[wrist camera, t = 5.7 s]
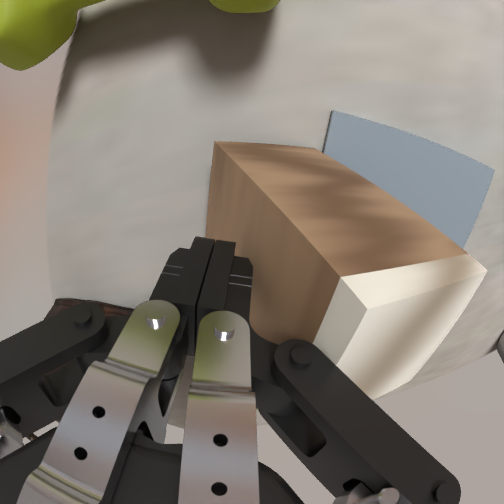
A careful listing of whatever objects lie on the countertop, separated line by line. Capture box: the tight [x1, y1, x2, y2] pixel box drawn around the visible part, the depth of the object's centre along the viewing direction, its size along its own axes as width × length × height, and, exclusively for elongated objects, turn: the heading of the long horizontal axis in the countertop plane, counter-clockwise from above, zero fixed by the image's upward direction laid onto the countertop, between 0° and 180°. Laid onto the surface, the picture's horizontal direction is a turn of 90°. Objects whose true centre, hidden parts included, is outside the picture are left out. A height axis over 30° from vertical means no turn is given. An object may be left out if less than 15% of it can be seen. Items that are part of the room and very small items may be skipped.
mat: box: [323, 111, 495, 249], centre depth 18 cm, size 13×11×1 cm
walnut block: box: [206, 141, 487, 400], centre depth 13 cm, size 6×6×12 cm
